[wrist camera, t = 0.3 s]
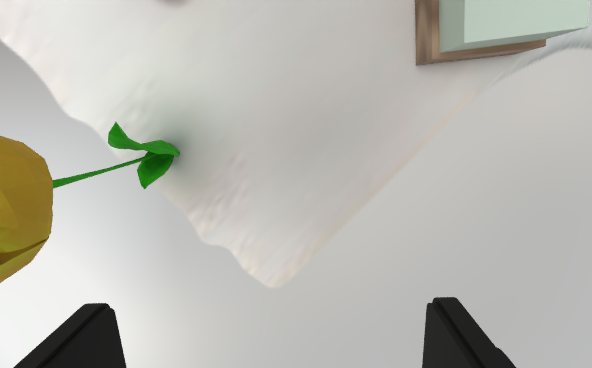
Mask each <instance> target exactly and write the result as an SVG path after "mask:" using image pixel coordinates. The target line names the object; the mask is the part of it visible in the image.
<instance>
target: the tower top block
mask: <svg viewBox="0 0 592 368" xmlns="http://www.w3.org/2000/svg"><path fill="white" fill-rule="evenodd" d="M590 1H591V0H439V53H445V52H453V51H460V50H468V49H476V48H484V47H492V46H500V45H507V44H515V43H523V42H531V41H539V40H544V39H548V38H551V37H555V36H558V35H562V34H565V33H569V32H573V31H576V30H580V29H583V28H587V27H588V22H589V12H590Z"/></svg>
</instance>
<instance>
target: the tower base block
mask: <svg viewBox="0 0 592 368" xmlns="http://www.w3.org/2000/svg"><path fill="white" fill-rule="evenodd" d="M415 19H416V65H424V64H433V63H442V62H450V61H459V60H468V59H476V58H485V57H493V56H502V55H511V54H517V53H521V52H524V51H528V50H532V49H536V48H540V47H544V46H546V39H544V40H539V41H531V42H523V43H515V44H507V45H500V46H492V47H484V48H476V49H468V50H460V51H453V52H445V53H439V0H415Z"/></svg>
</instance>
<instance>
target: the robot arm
mask: <svg viewBox="0 0 592 368" xmlns="http://www.w3.org/2000/svg"><path fill="white" fill-rule="evenodd" d="M423 351H424V352H423V365H422V368H516V367H515V366H514V364H513V363H512V362H511V361H510V359H509V358H508V357H507V356H506V355H505V354H504V353H503V351H502V350H500V349H499V348H497V347H495V345H494V344H493V343H492V342H491V340H490V339H489V338H488V337H487V335H486V334H485V333H484V332H483V330H482V329H481V328H480V327H479V325H478V324H477V323H476V322H475V320H474V319H473V318H472V317H471V315H470V314H469V313H468V312H467V310H466V309H465V308H464V307H463V305H462V304H461V303H460V302H459V301H458V299H457V298H455V297H440V298H434V299H433V302H432V303H428V304H427V310H426V323H425V337H424V350H423ZM14 368H126V363H125V358H124V354H123V349H122V344H121V339H120V335H119V330H118V325H117V320H116V315H115V312H114V310H113V309H112V308H110V306H109V305H108V304H106V303H98V304H97V303H96V304H95V303H93V304H85V305H83V306H82V307H81V308H80V309H78V310H77V311H76V312H75V313H74V314H73V315H72V316H71V317H69V318H68V319H67V320H66V321H65V322H64V323H63V324H62V325H60V326H59V327H58V328H57V329H56V330H55V331H54V332H53V333H51V335H49V336H48V337H47V338H46V339H45V340H44V341H43V342H41V343H40V344H39V345H38V346H37V347H36V348H35V349H34V350H32V351H31V352H30V353H29V354H28V355H27V356H26V357H25V358H24V359H22V360H21V361H20V362H19V363H18V364H17V365H16V366H15V367H14Z"/></svg>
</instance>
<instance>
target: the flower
mask: <svg viewBox="0 0 592 368" xmlns="http://www.w3.org/2000/svg"><path fill="white" fill-rule="evenodd" d="M108 143H109V145H110V146H112V147H114V148H118V149H132V150H146V151H148V152H147V153H146V155H145V156H144V157H142V158H139V159H136V160H133V161H129V162H126V163H123V164H120V165H116V166H113V167H110V168H107V169H102V170H98V171H94V172H89V173H85V174H81V175H76V176H72V177H68V178H62V179H57V180H52V178H51V175H50V172H49V170H48V166H47V164H46V162H45V159H44V158H42V157H41V156H40V155H39V154H37V153H36V152H35V151H33V150H32V149H31V148H29V147H28V146H26V145H25V144H24V143H22V142H19V141H15V140H12V139H9V138H5V137H2V136H0V282H2V281H4V280H5V279H7V278H8V277H10V276H11V275H13V274H14V273H16V272H17V271H19V270H20V269H22V268H23V267H24V266H26V265H27V264H29V263H30V262H31V261H32V260H33V258H34V257H35V256H36V254H37V253H38V252H39V251H40V249H41V248H42V246H43V245H44V244H45V242H46V241H47V239H48V238H49V235H50V233H51V226H52V216H53V213H52V205H53V188H56V187H59V186H63V185H66V184H69V183H72V182H75V181H78V180H82V179H85V178H88V177H91V176H94V175H97V174H101V173H104V172H107V171H110V170H114V169H117V168H120V167H124V166H127V165H130V164H134V163H137V162H140V161H142V162H141V164H140V165H139V167H138V170H137V172H138V176H139V180H140V183H141V185H142V186H143V188H144V189H145V188H146V187H147V186H148V185H149V184H151V183H152V182H154V181H155V180H156V179H157V178H159V177H161V176H162V175H163V174H164V173H165V172H166V171H167V170H168V168H169V167H170V165H171V163H172V161H173V158H174V155H175V156H179V155H180V152H179V151H178V150H177V149H176V148H175V147H174V146H172V145H171V144H169V143H167V142H164V141H162V140H159V141H153V142H148V143H143V144H140V143H137V142H135V141H133V140H131V139H129V138H128V137H127V136H126V134H125V133H124V132H123V130H122V129H121V128H120V126H119V125H118V124H117V122H116V123H115V124H114V126H113V127H112V129H111V130H110V132H109V136H108Z"/></svg>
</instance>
